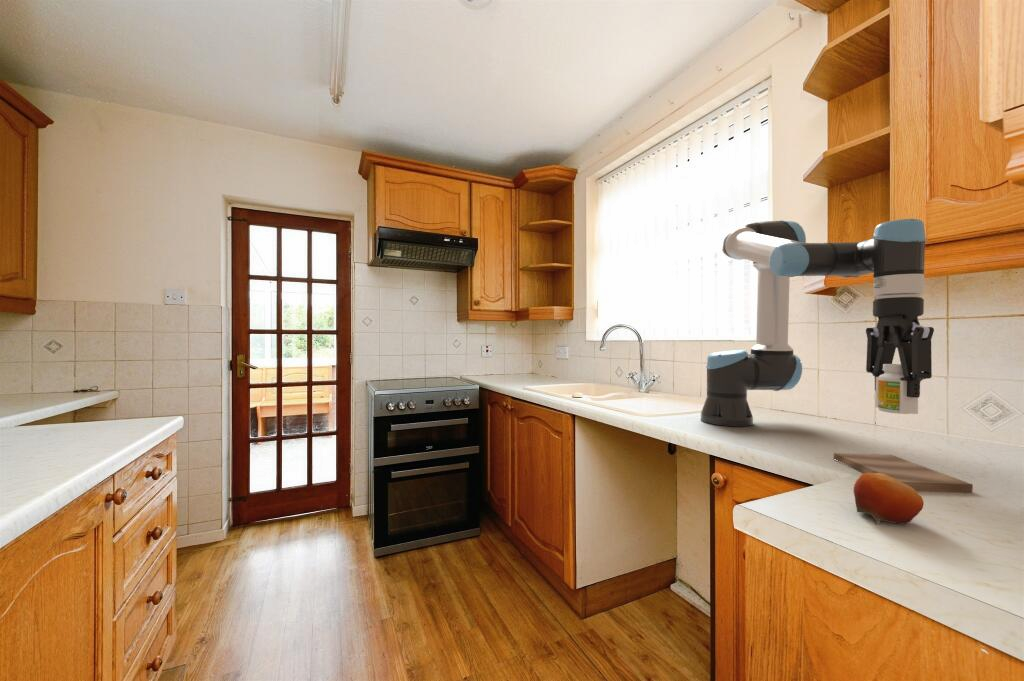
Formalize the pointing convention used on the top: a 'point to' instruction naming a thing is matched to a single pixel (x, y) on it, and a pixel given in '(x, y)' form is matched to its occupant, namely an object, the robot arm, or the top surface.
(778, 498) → the top surface
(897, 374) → the supplement bottle
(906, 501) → the fruit
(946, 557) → the top surface
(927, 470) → the walnut board
